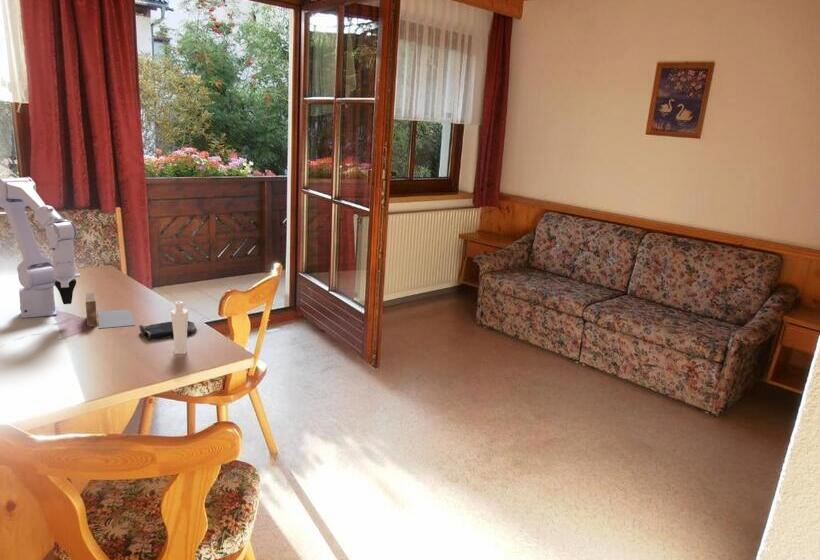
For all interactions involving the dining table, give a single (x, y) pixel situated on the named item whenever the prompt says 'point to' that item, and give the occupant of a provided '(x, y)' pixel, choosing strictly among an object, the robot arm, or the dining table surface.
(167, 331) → the electronic device
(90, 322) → the walnut slab
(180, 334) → the perfume bottle
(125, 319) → the mat
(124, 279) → the dining table surface
